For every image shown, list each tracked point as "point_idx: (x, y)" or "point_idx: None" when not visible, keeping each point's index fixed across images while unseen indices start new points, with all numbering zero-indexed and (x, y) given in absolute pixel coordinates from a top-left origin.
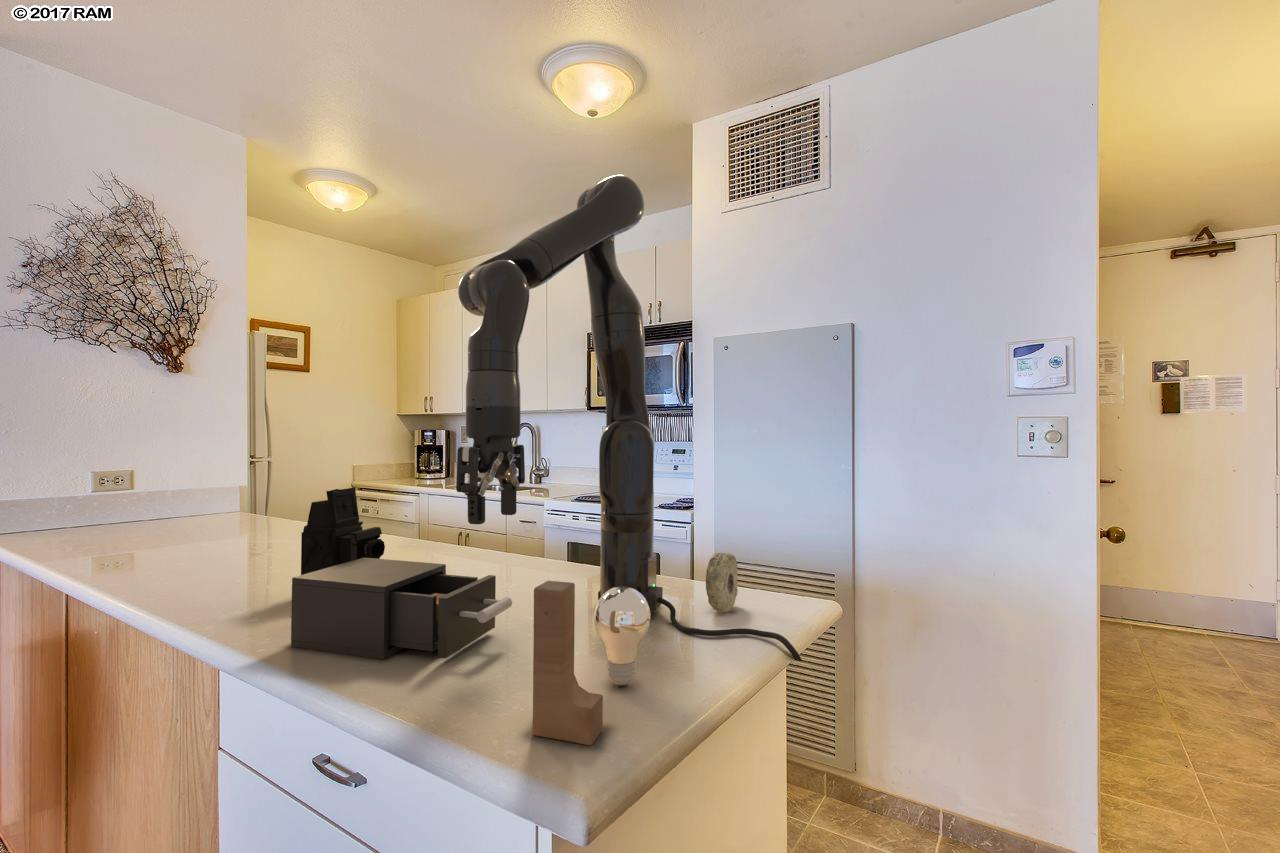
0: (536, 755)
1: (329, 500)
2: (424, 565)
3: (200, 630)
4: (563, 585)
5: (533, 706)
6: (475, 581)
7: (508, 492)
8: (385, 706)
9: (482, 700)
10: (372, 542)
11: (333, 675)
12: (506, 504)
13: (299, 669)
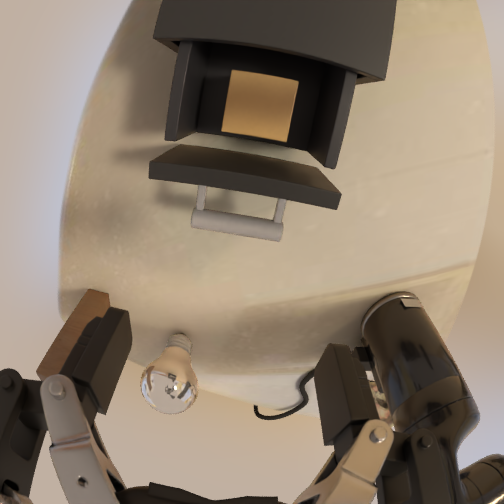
0: (74, 294)
1: None
2: (364, 33)
3: None
4: None
5: (79, 302)
6: (282, 183)
7: (334, 427)
8: (82, 149)
9: (116, 234)
10: None
11: (135, 37)
12: (328, 384)
13: None
